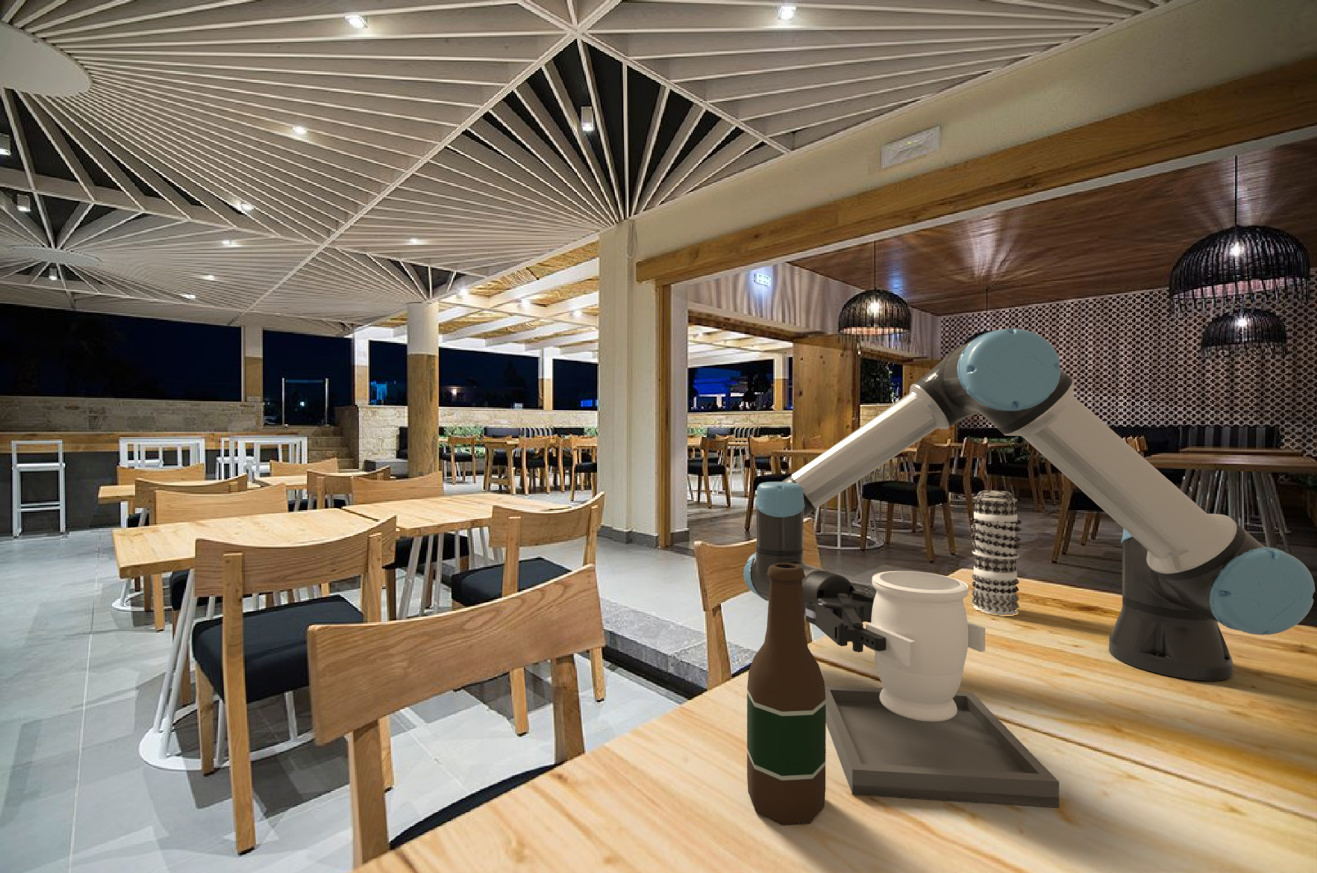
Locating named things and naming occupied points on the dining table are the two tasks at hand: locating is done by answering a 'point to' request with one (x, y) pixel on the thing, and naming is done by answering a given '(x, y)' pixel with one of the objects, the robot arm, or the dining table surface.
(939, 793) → the tray
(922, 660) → the jar
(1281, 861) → the dining table surface
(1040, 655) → the dining table surface
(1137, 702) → the dining table surface
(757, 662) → the beer bottle
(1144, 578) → the robot arm
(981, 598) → the decorative candle
